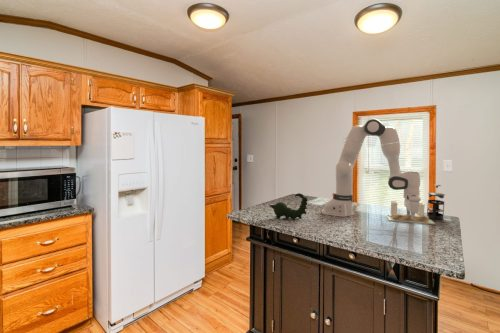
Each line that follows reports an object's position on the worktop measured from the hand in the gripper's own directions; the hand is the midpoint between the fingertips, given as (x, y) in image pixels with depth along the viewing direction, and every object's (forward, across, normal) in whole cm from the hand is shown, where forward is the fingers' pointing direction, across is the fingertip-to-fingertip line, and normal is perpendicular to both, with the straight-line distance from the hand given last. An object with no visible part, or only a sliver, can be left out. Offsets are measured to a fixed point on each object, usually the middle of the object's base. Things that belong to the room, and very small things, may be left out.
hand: (410, 216), depth 173 cm
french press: (+3, -10, +17) cm, 20 cm away
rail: (+2, 0, 0) cm, 2 cm away
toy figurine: (+3, +18, -77) cm, 79 cm away
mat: (+3, 0, 0) cm, 3 cm away
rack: (+3, -9, 0) cm, 9 cm away
